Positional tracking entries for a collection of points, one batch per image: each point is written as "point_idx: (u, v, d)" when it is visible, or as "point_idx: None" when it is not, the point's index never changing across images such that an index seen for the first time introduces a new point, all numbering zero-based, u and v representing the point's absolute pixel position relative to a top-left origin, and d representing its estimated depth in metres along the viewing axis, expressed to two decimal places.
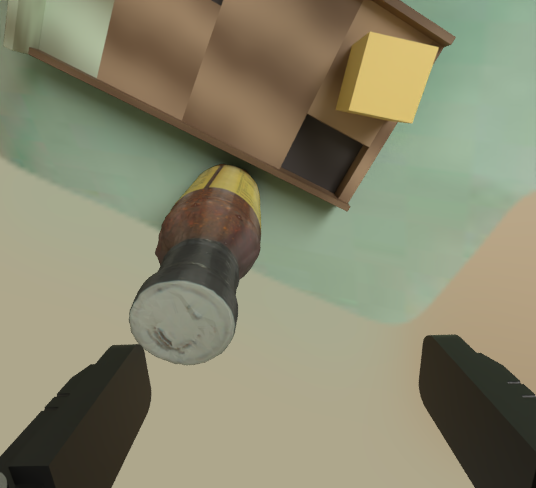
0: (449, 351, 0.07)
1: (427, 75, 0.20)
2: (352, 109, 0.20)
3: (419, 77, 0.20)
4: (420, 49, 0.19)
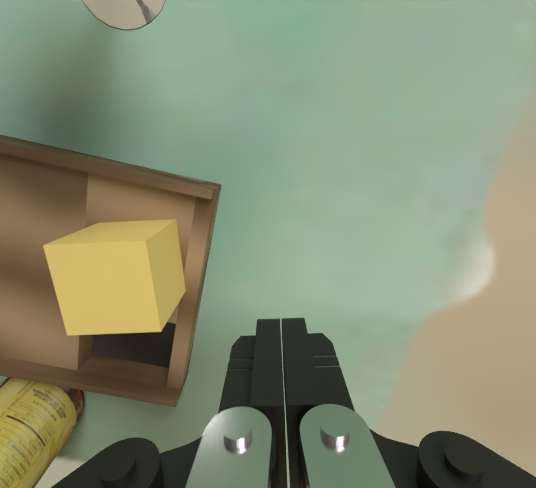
0: (285, 330, 0.08)
1: (148, 275, 0.14)
2: (72, 333, 0.14)
3: (139, 280, 0.14)
4: (121, 249, 0.13)
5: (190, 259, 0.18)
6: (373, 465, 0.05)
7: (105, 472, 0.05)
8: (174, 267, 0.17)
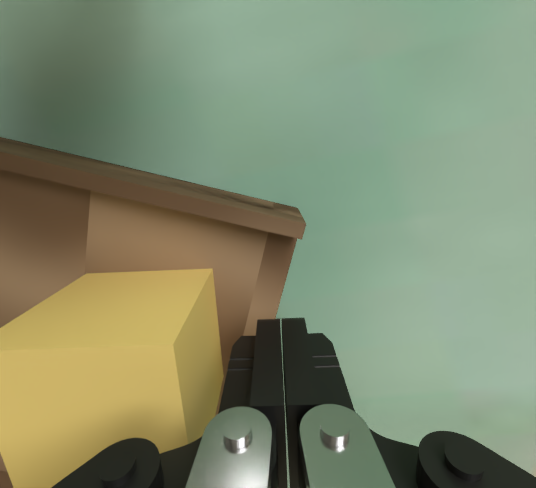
0: (285, 330, 0.08)
1: (177, 407, 0.07)
2: None
3: (158, 415, 0.07)
4: (123, 359, 0.06)
5: (251, 328, 0.11)
6: (373, 465, 0.05)
7: (105, 472, 0.05)
8: (211, 351, 0.10)
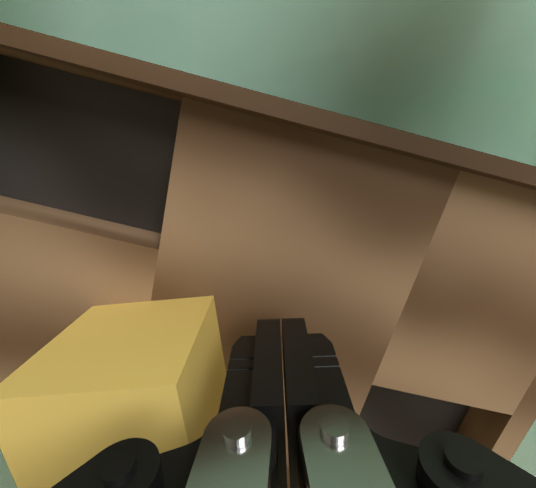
0: (285, 330, 0.08)
1: (183, 443, 0.07)
2: None
3: None
4: (130, 401, 0.07)
5: None
6: (373, 465, 0.05)
7: (105, 472, 0.05)
8: (216, 378, 0.10)
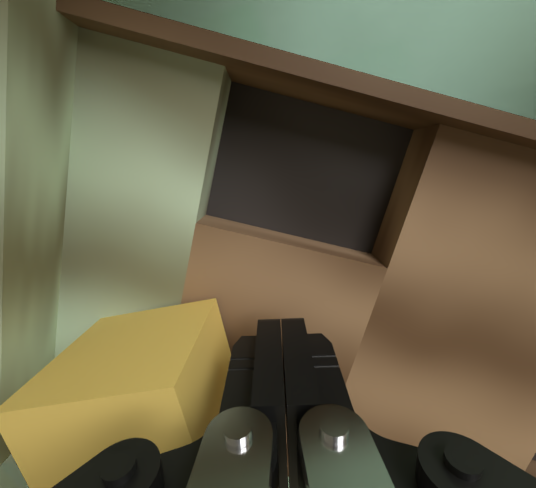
0: (285, 330, 0.08)
1: None
2: None
3: None
4: (131, 406, 0.07)
5: None
6: (372, 465, 0.05)
7: (106, 472, 0.05)
8: (225, 380, 0.10)
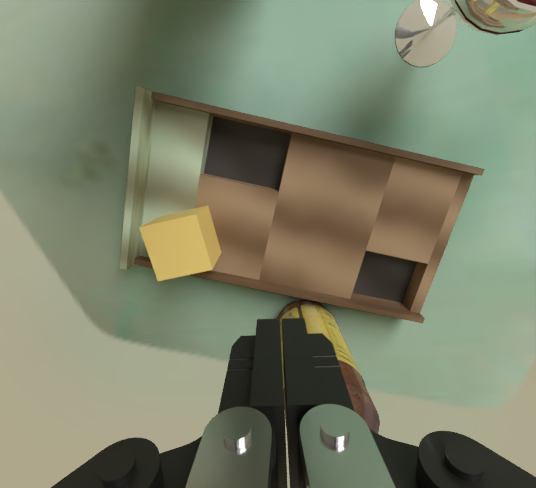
0: (285, 330, 0.08)
1: (200, 235, 0.23)
2: (160, 279, 0.24)
3: (195, 239, 0.23)
4: (183, 221, 0.23)
5: (448, 217, 0.27)
6: (373, 465, 0.05)
7: (105, 472, 0.05)
8: (212, 235, 0.26)
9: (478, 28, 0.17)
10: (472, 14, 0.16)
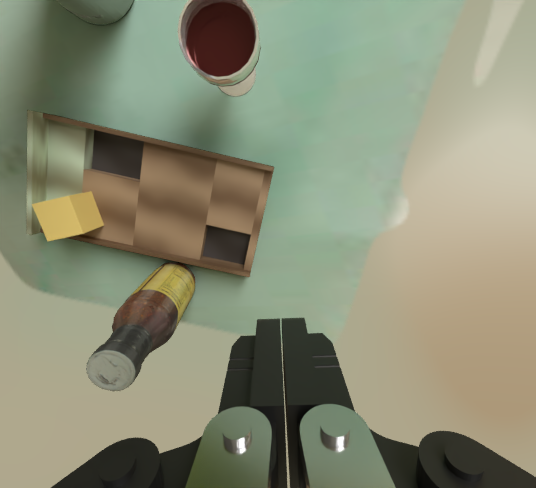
0: (285, 330, 0.08)
1: (73, 209, 0.34)
2: (49, 240, 0.36)
3: (70, 212, 0.35)
4: (60, 200, 0.34)
5: (260, 201, 0.39)
6: (373, 465, 0.05)
7: (105, 472, 0.05)
8: (92, 211, 0.38)
9: (210, 83, 0.28)
10: None
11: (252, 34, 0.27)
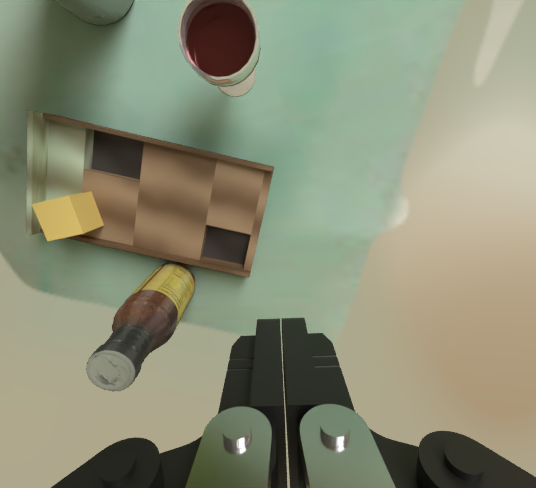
0: (285, 330, 0.08)
1: (72, 209, 0.34)
2: (49, 240, 0.36)
3: (70, 212, 0.35)
4: (60, 200, 0.34)
5: (260, 201, 0.39)
6: (373, 465, 0.05)
7: (105, 472, 0.05)
8: (92, 211, 0.38)
9: (210, 83, 0.28)
10: (199, 76, 0.27)
11: (252, 35, 0.27)
